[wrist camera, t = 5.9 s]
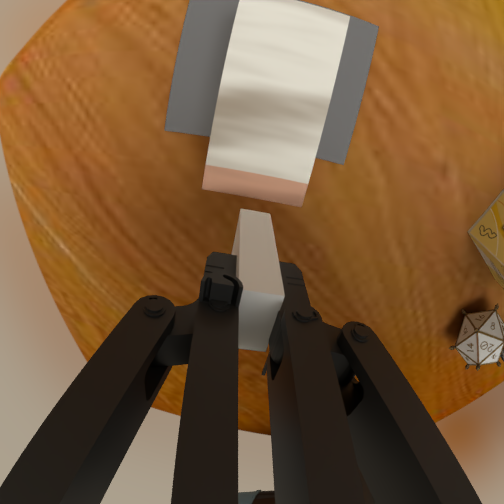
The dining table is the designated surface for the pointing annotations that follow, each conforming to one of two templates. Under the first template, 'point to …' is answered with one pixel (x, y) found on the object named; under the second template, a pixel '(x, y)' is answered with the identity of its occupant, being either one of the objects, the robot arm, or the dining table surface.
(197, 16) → the mat
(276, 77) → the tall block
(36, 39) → the dining table surface
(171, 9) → the dining table surface
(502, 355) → the figurine
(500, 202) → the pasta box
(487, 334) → the game die
